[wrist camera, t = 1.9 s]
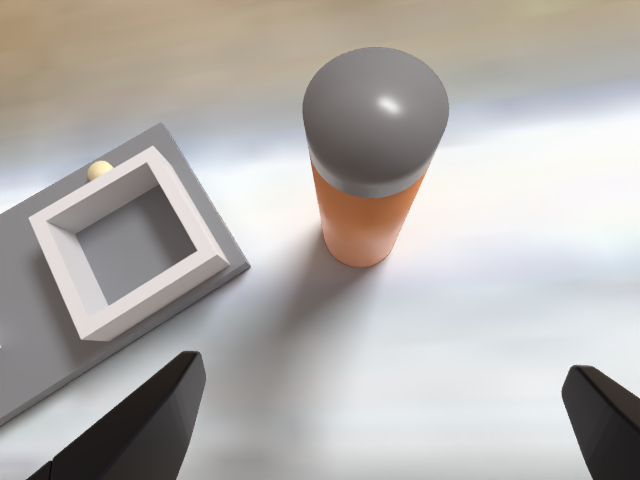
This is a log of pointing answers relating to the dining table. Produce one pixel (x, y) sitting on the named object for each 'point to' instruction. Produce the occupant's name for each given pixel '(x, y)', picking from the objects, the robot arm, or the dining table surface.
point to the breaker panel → (103, 264)
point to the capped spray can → (371, 146)
